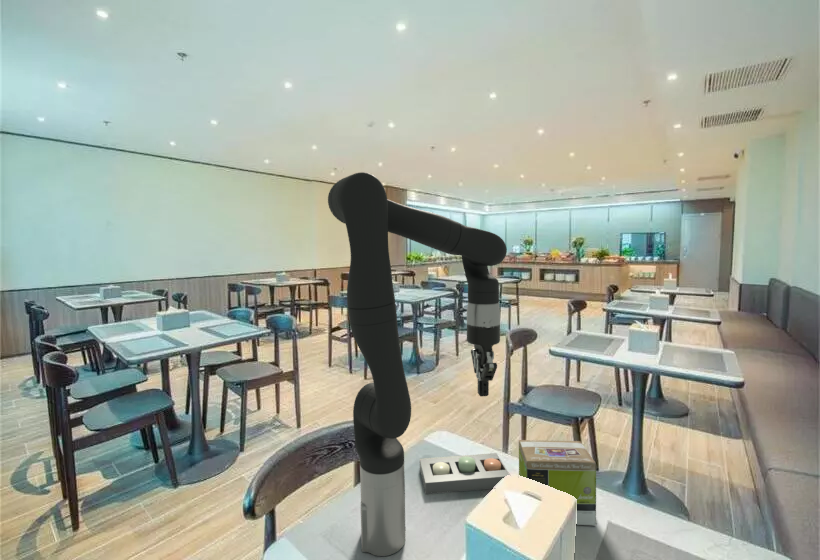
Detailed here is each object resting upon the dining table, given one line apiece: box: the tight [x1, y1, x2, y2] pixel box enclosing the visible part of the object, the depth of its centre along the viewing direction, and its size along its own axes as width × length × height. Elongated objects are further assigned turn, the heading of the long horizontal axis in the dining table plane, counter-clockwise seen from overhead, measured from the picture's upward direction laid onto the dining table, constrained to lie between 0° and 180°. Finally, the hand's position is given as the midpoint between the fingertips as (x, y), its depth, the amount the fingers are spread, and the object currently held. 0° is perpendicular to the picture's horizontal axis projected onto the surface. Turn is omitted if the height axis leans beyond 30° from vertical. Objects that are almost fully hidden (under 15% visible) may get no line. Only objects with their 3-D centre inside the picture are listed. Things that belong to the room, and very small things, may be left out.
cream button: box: [433, 462, 450, 475], centre depth 101 cm, size 4×4×3 cm
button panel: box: [419, 452, 511, 495], centre depth 102 cm, size 22×11×3 cm, turn 96°
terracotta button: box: [484, 458, 501, 471], centre depth 103 cm, size 4×4×3 cm
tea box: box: [518, 439, 597, 526], centre depth 89 cm, size 15×10×15 cm, turn 84°
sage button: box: [459, 456, 475, 473], centre depth 102 cm, size 4×4×3 cm
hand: (483, 395), depth 89 cm, fingers closed
